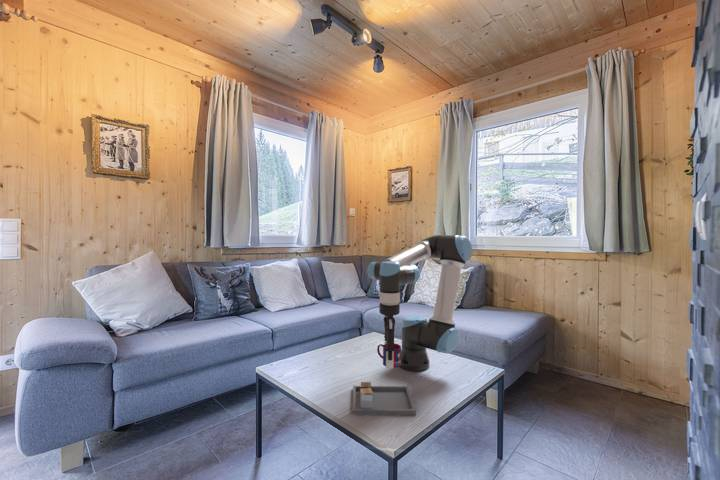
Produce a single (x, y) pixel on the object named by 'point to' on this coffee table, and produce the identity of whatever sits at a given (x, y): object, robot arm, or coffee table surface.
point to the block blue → (366, 401)
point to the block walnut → (365, 385)
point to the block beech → (365, 392)
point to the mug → (396, 354)
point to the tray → (385, 401)
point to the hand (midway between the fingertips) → (388, 363)
